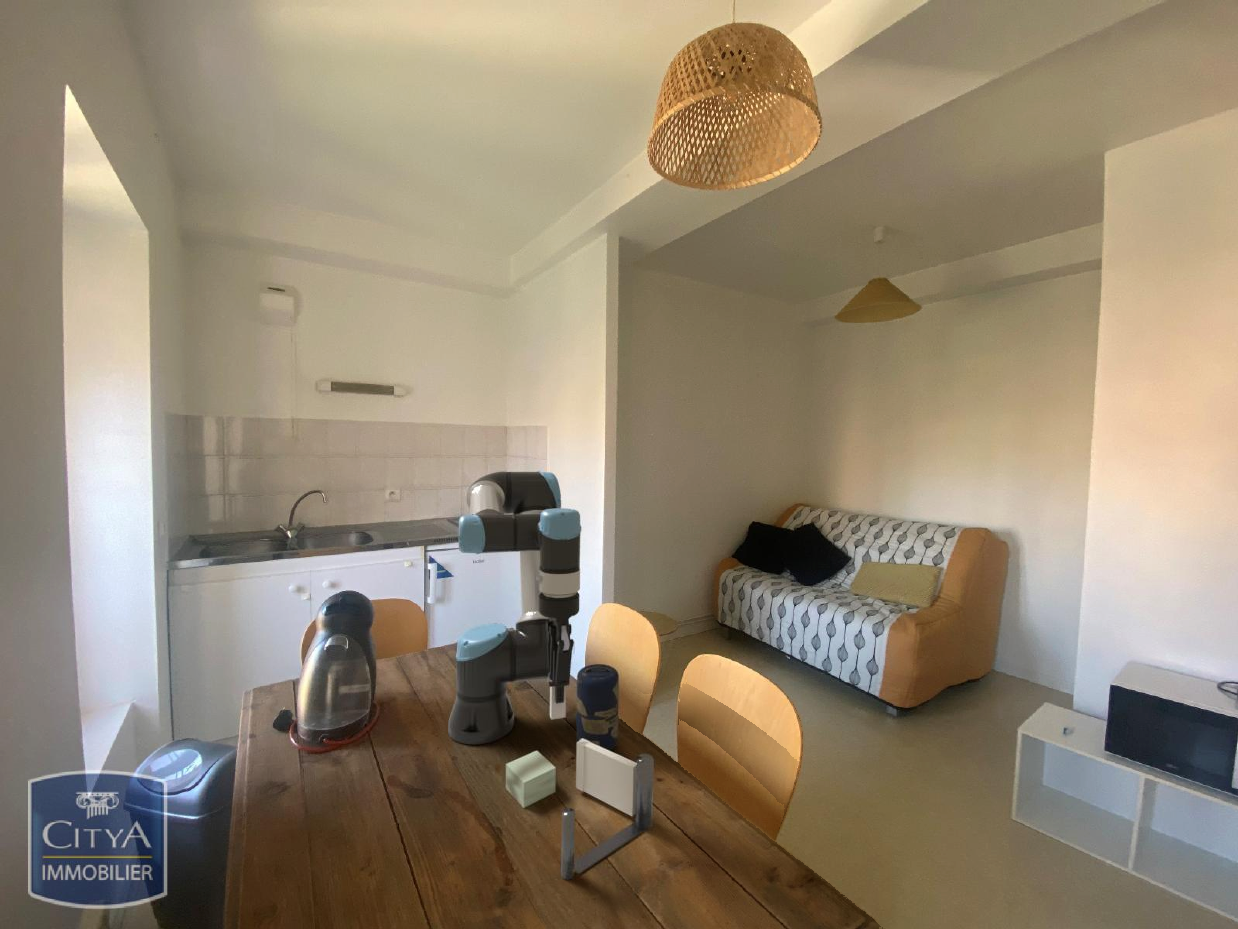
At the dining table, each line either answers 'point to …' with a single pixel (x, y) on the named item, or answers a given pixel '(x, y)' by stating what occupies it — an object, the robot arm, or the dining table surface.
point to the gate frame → (619, 839)
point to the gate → (606, 776)
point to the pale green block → (530, 778)
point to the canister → (598, 705)
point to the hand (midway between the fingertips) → (557, 716)
